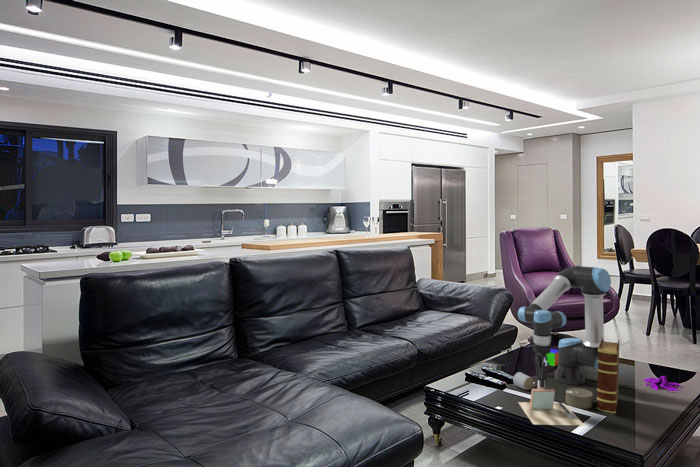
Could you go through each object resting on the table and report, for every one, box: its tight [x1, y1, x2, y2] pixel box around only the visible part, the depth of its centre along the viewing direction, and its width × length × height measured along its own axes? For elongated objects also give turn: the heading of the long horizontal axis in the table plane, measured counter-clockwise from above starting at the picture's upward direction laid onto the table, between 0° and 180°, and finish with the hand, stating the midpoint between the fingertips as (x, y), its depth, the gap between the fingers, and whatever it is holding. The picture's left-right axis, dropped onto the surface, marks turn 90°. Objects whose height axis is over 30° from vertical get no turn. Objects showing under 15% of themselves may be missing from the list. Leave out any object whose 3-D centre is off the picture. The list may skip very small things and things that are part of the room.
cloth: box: [642, 375, 682, 392], centre depth 258 cm, size 22×19×6 cm
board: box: [517, 401, 585, 427], centre depth 222 cm, size 22×24×1 cm
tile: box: [529, 388, 556, 409], centre depth 226 cm, size 10×2×10 cm, turn 86°
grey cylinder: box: [512, 371, 536, 391], centre depth 257 cm, size 11×8×8 cm
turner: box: [558, 402, 578, 419], centre depth 224 cm, size 4×16×1 cm, turn 176°
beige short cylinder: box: [564, 387, 594, 409], centre depth 233 cm, size 12×12×7 cm
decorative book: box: [596, 339, 620, 414], centre depth 232 cm, size 22×8×30 cm, turn 148°
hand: (541, 393), depth 227 cm, fingers closed
